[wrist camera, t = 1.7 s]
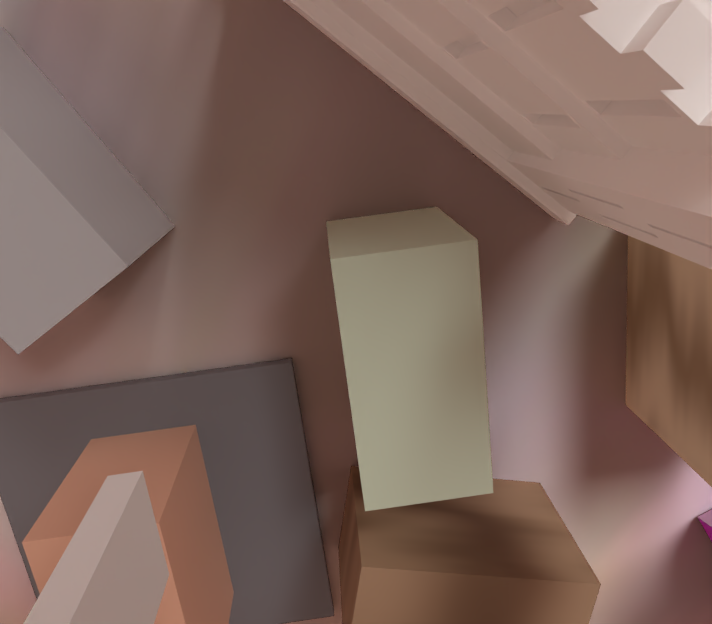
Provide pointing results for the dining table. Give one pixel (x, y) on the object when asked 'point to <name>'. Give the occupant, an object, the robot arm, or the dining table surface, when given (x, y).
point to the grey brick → (59, 205)
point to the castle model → (560, 99)
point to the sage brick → (413, 355)
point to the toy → (707, 522)
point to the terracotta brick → (171, 511)
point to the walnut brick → (463, 561)
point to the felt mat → (222, 462)
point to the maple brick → (671, 350)
